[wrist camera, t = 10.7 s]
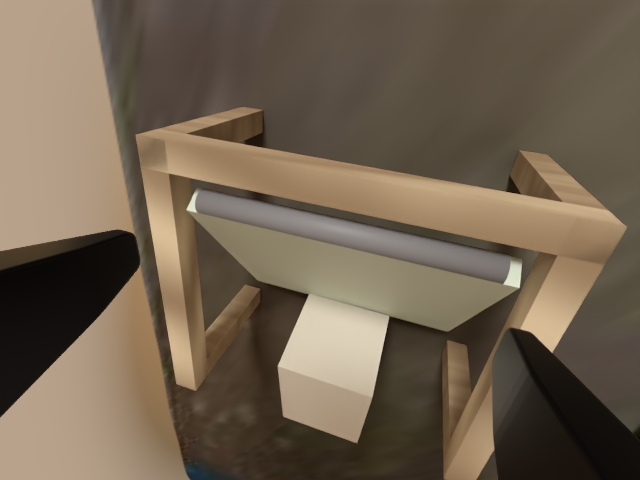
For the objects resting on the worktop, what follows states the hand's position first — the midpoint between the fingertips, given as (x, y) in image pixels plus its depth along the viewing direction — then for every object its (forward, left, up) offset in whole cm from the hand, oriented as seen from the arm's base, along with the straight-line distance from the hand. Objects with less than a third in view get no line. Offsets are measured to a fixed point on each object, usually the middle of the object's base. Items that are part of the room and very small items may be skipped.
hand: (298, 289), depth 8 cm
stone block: (0, +9, -8) cm, 12 cm away
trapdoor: (0, +4, -8) cm, 9 cm away
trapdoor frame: (0, +6, -12) cm, 13 cm away
